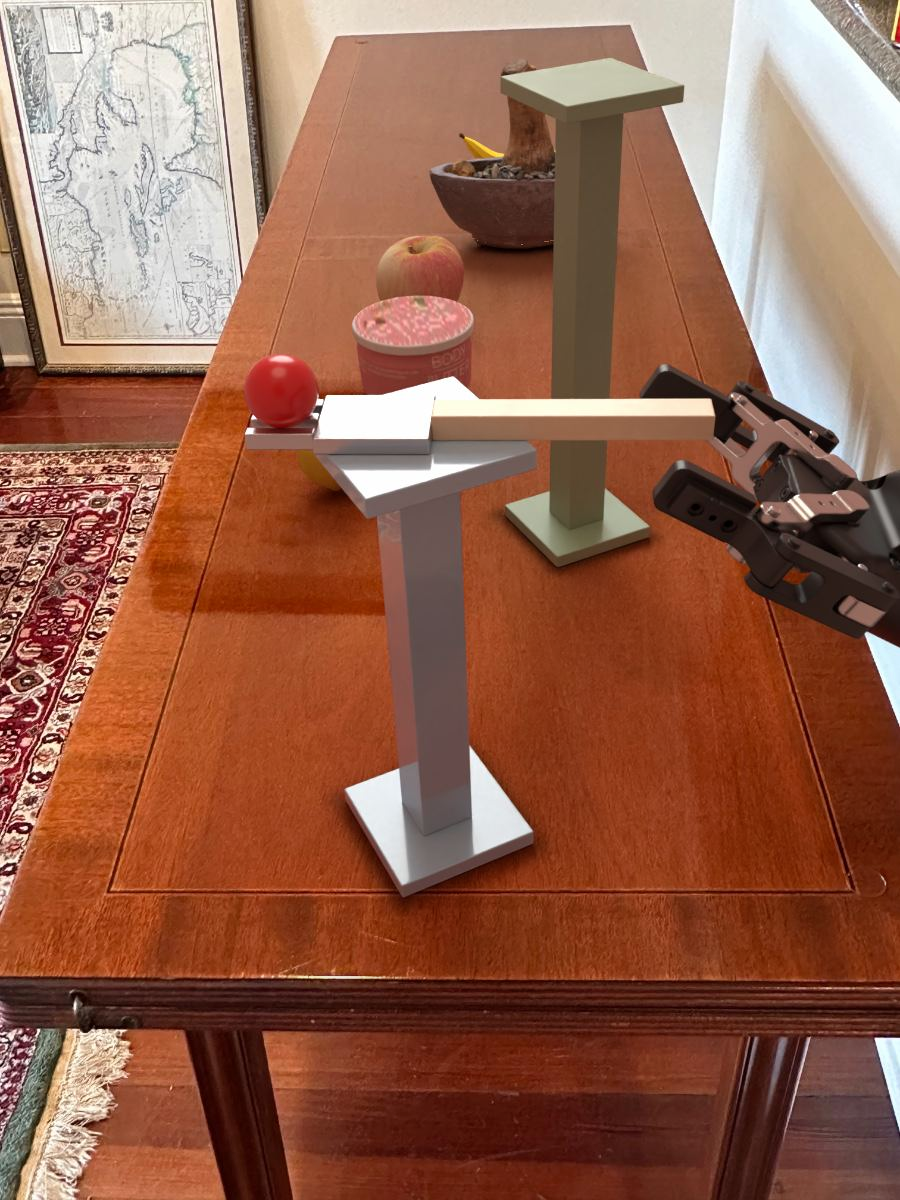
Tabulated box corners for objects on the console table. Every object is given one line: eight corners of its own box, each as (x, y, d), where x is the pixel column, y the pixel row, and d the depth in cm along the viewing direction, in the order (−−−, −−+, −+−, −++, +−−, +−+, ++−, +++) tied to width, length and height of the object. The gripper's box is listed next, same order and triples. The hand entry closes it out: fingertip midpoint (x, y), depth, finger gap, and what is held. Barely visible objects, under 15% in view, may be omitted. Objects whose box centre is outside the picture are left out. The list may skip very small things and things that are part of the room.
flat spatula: (705, 409, 53) (713, 333, 51) (716, 455, 50) (725, 377, 48) (259, 410, 54) (248, 337, 52) (242, 455, 51) (229, 379, 49)
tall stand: (649, 537, 89) (685, 84, 70) (557, 568, 86) (567, 106, 67) (592, 487, 95) (611, 57, 75) (504, 515, 92) (499, 76, 73)
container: (466, 371, 112) (463, 289, 107) (484, 424, 104) (482, 339, 99) (355, 382, 111) (347, 300, 106) (364, 437, 103) (356, 351, 98)
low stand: (534, 843, 66) (537, 449, 51) (402, 898, 63) (365, 499, 48) (468, 753, 72) (453, 375, 57) (345, 800, 69) (295, 416, 54)
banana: (607, 177, 154) (610, 127, 151) (461, 187, 153) (460, 136, 150) (603, 170, 157) (605, 120, 153) (459, 180, 156) (458, 130, 152)
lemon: (291, 504, 95) (279, 415, 90) (314, 468, 99) (303, 381, 94) (358, 511, 93) (349, 421, 88) (378, 475, 98) (371, 386, 93)
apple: (468, 302, 125) (466, 226, 120) (460, 338, 118) (458, 260, 113) (386, 301, 125) (380, 226, 121) (373, 338, 118) (367, 260, 114)
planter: (425, 247, 137) (416, 61, 125) (528, 209, 146) (528, 32, 134) (516, 281, 128) (516, 85, 116) (620, 239, 137) (629, 52, 125)
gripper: (963, 443, 59) (689, 290, 55) (1064, 622, 48) (727, 446, 44) (863, 550, 63) (601, 415, 59) (933, 739, 52) (616, 587, 48)
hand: (655, 428), depth 51 cm, fingers open, 8 cm apart
